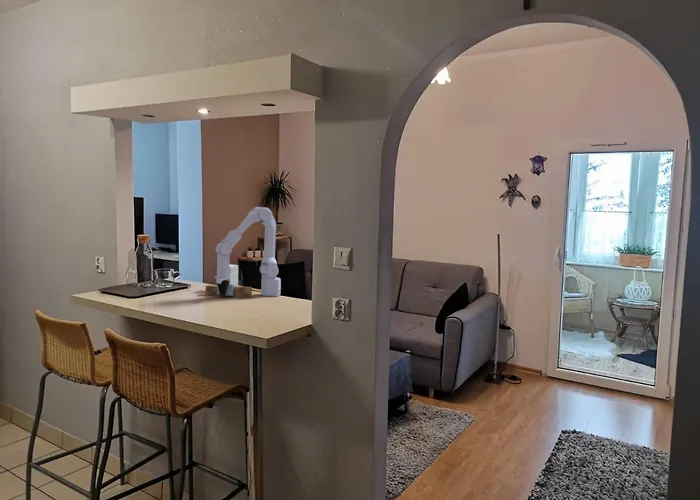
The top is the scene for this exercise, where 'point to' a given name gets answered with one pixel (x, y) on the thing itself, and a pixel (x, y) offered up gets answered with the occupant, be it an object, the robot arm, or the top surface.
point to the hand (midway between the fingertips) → (222, 296)
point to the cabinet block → (228, 291)
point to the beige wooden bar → (237, 292)
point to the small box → (233, 275)
